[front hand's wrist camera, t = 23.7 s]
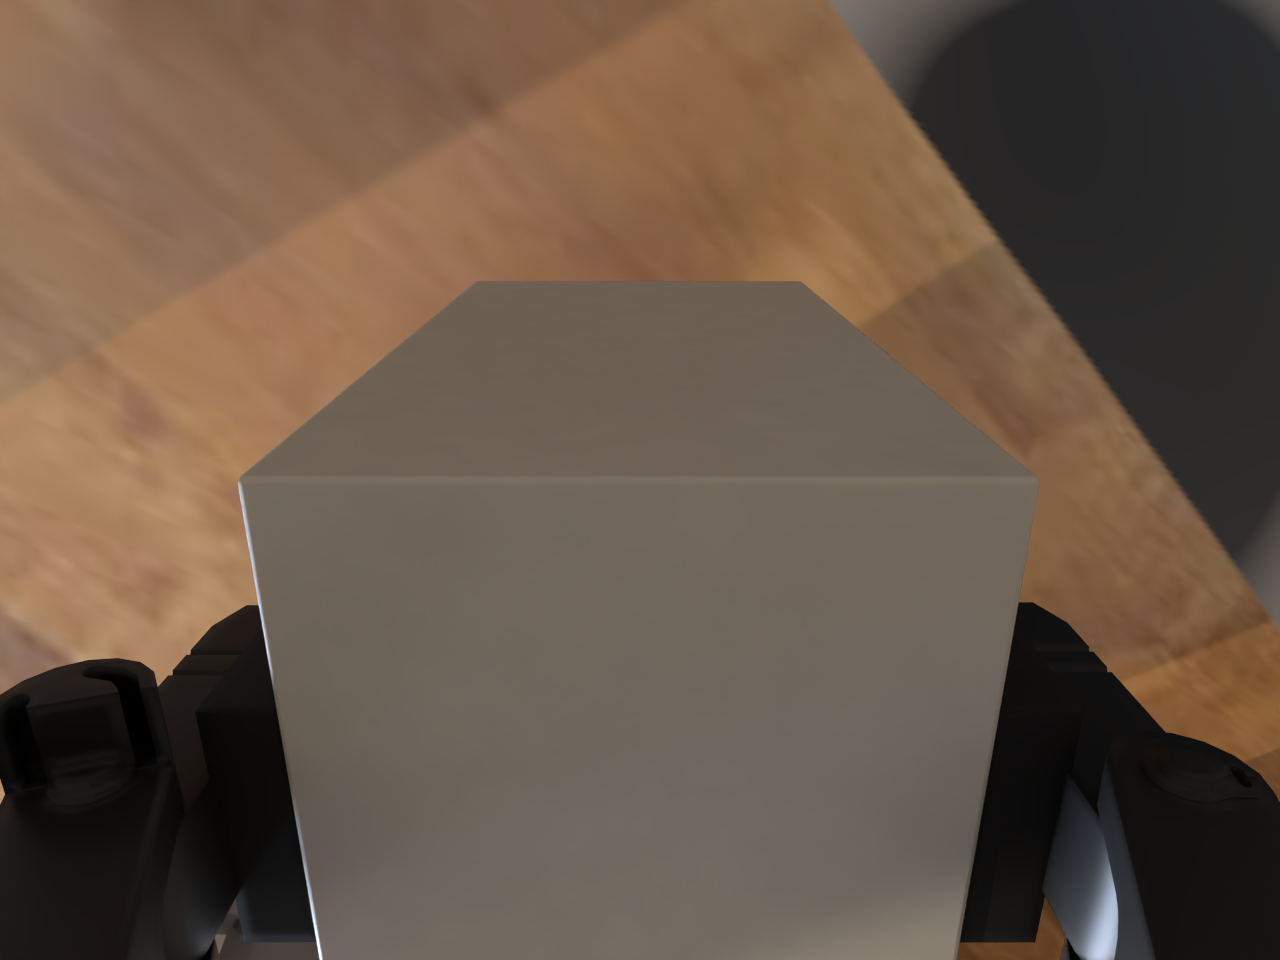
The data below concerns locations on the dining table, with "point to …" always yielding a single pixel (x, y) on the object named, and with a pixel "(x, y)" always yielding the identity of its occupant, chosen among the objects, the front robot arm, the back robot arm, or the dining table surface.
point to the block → (638, 633)
